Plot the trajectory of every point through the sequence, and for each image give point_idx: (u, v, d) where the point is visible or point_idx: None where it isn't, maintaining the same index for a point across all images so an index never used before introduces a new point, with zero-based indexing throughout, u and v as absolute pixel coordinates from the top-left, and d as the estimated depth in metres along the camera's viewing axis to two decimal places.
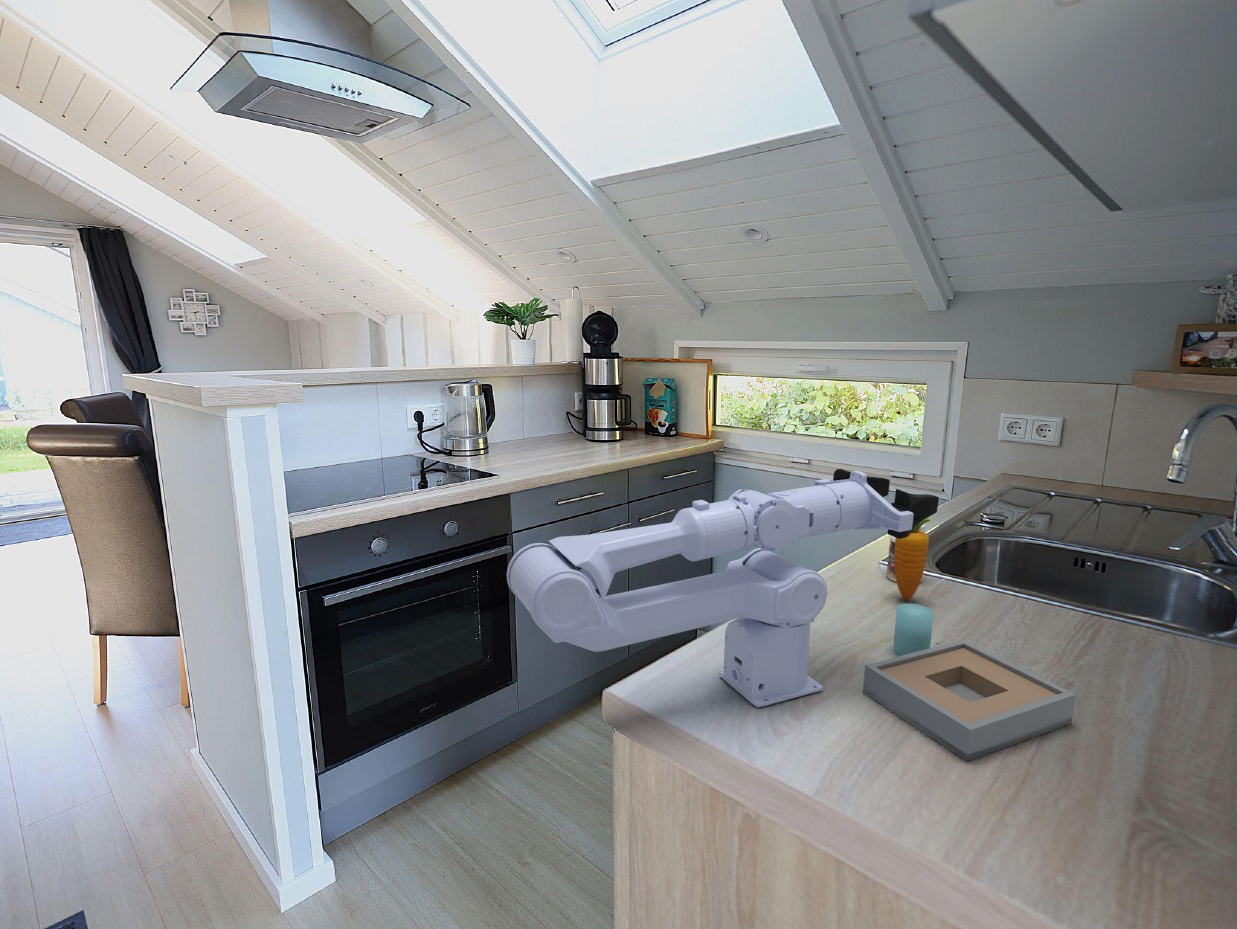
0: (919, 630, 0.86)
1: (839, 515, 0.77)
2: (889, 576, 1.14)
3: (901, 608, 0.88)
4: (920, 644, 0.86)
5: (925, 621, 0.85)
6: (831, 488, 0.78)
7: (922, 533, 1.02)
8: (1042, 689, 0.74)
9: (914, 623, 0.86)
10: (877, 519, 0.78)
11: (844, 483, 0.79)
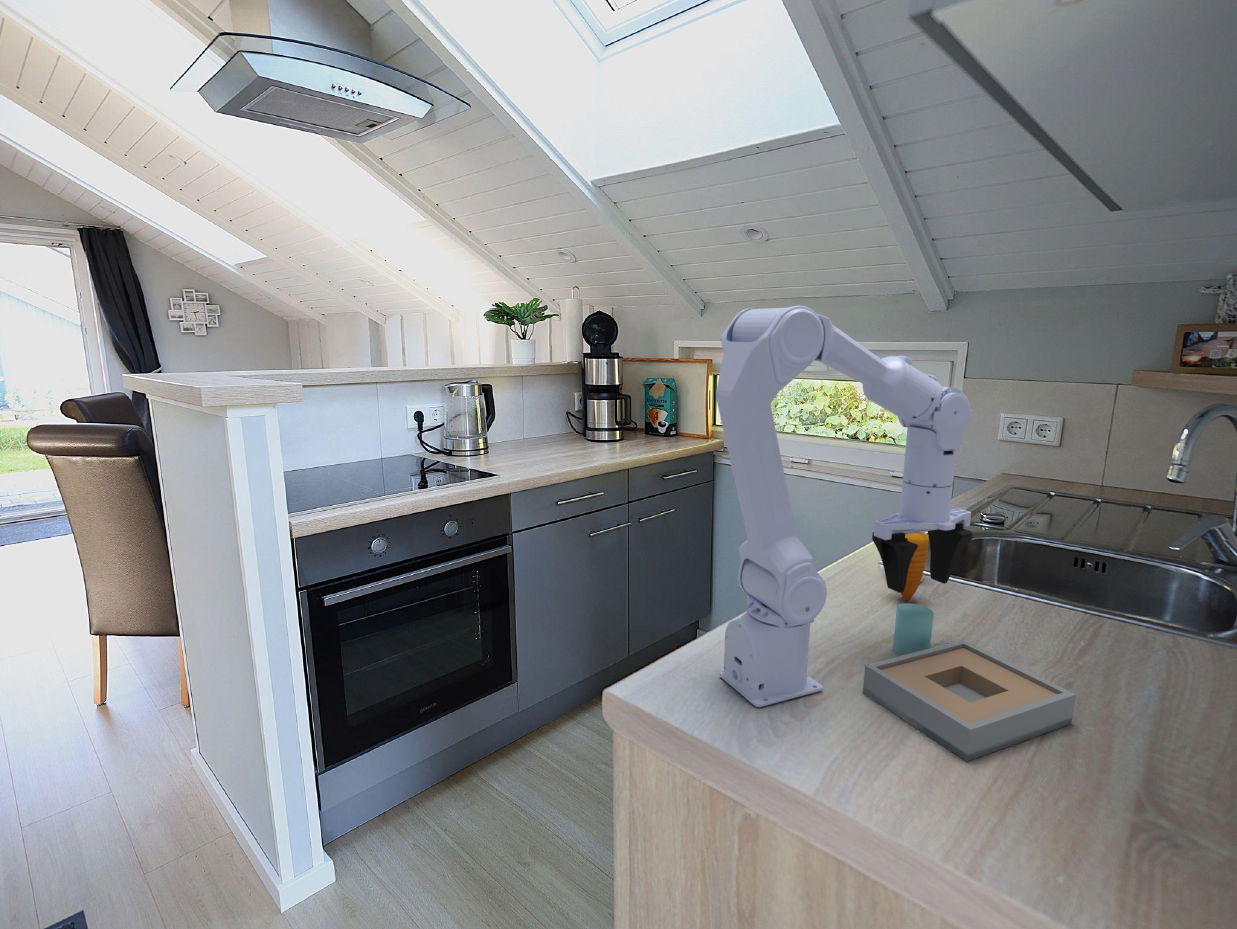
0: (919, 630, 0.86)
1: (946, 485, 0.81)
2: None
3: (901, 608, 0.88)
4: (920, 644, 0.86)
5: (924, 621, 0.85)
6: (941, 488, 0.81)
7: (922, 533, 1.02)
8: (1042, 689, 0.74)
9: (914, 623, 0.86)
10: None
11: (944, 508, 0.82)
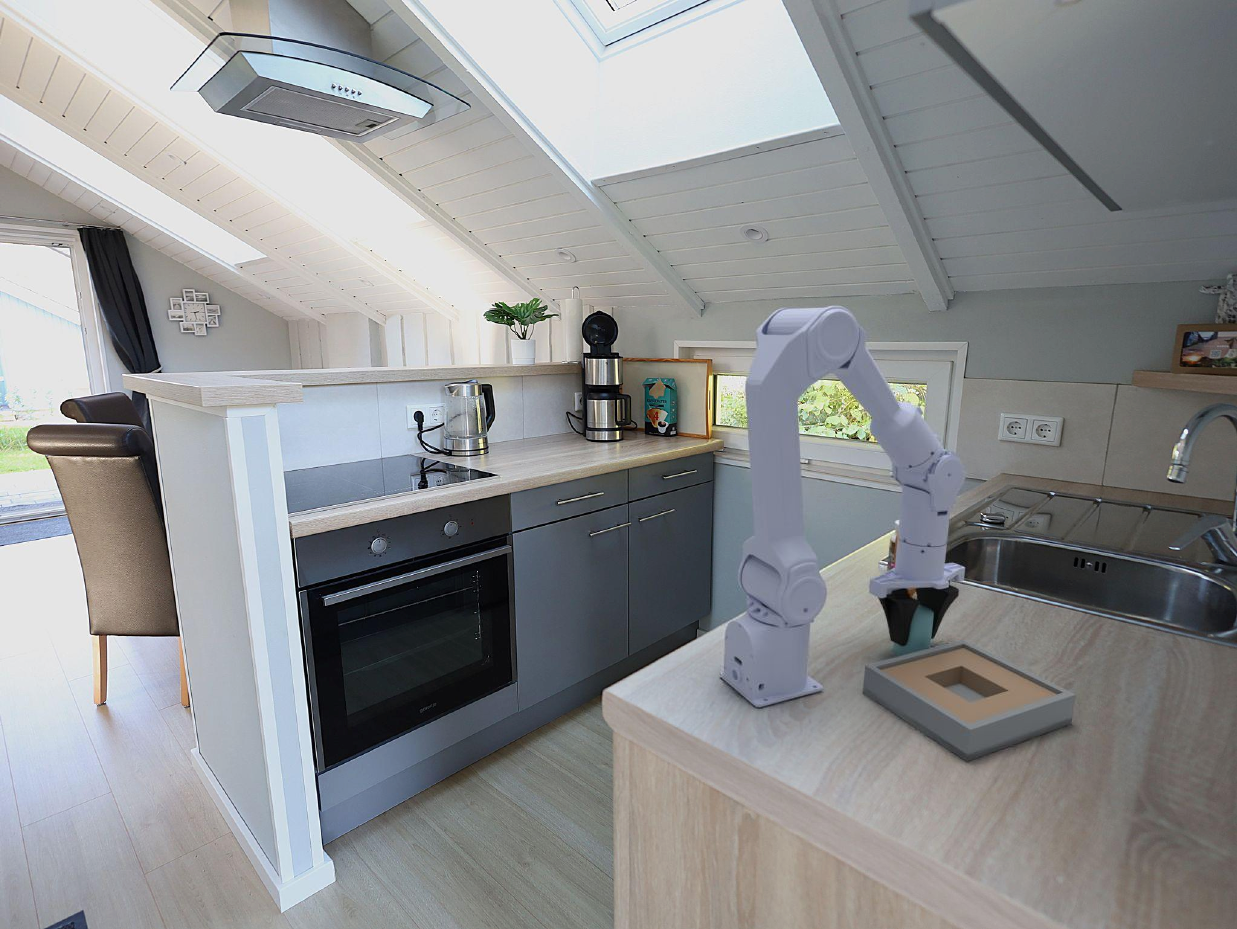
0: (919, 630, 0.86)
1: (939, 544, 0.83)
2: None
3: None
4: (920, 644, 0.86)
5: (925, 621, 0.85)
6: (935, 547, 0.83)
7: None
8: (1042, 689, 0.74)
9: (914, 622, 0.86)
10: None
11: (938, 567, 0.83)
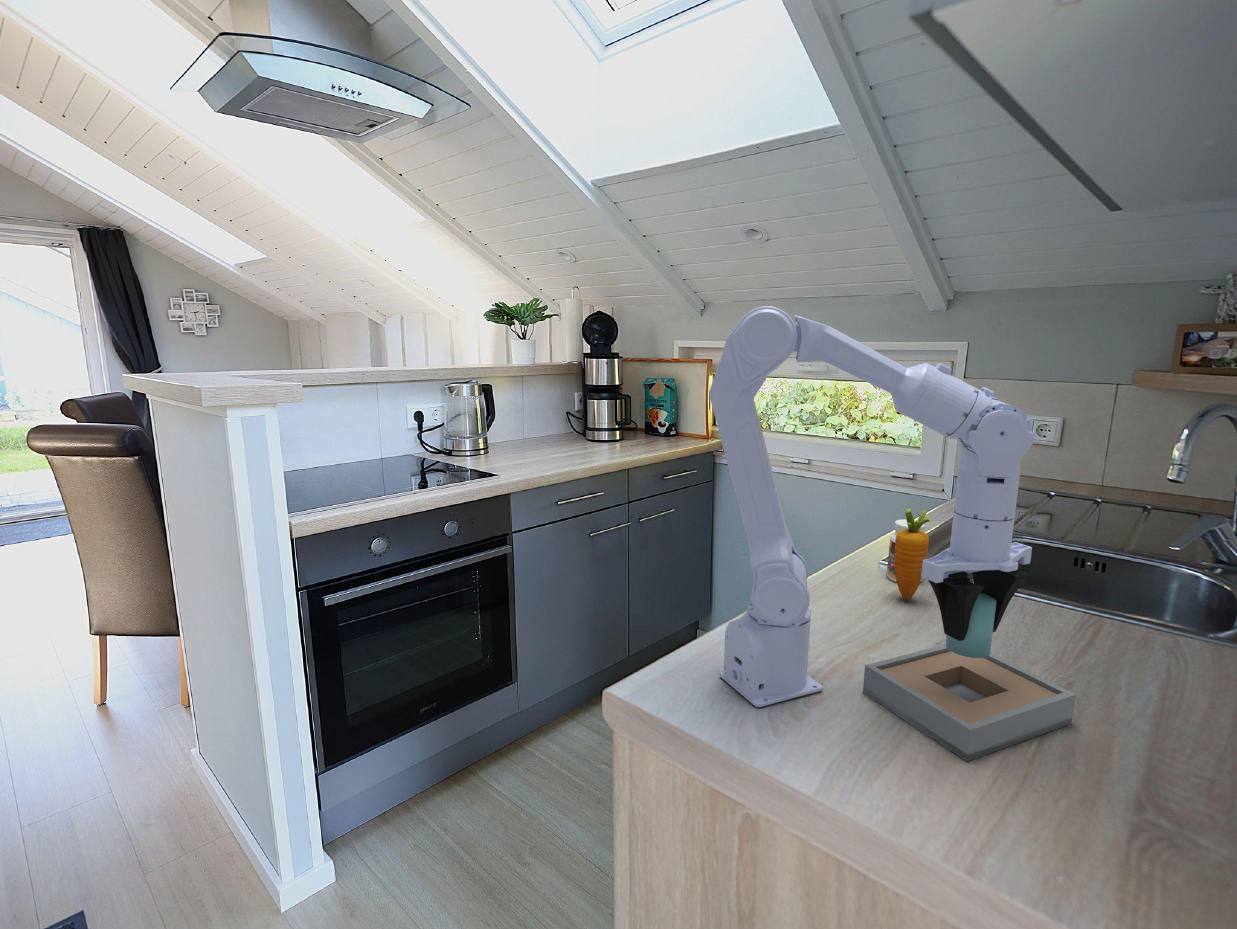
0: (979, 621, 0.72)
1: (991, 518, 0.69)
2: (889, 576, 1.14)
3: None
4: (979, 637, 0.72)
5: (986, 610, 0.72)
6: (1002, 522, 0.69)
7: (922, 533, 1.02)
8: (1042, 689, 0.74)
9: (973, 612, 0.72)
10: None
11: (1005, 545, 0.70)
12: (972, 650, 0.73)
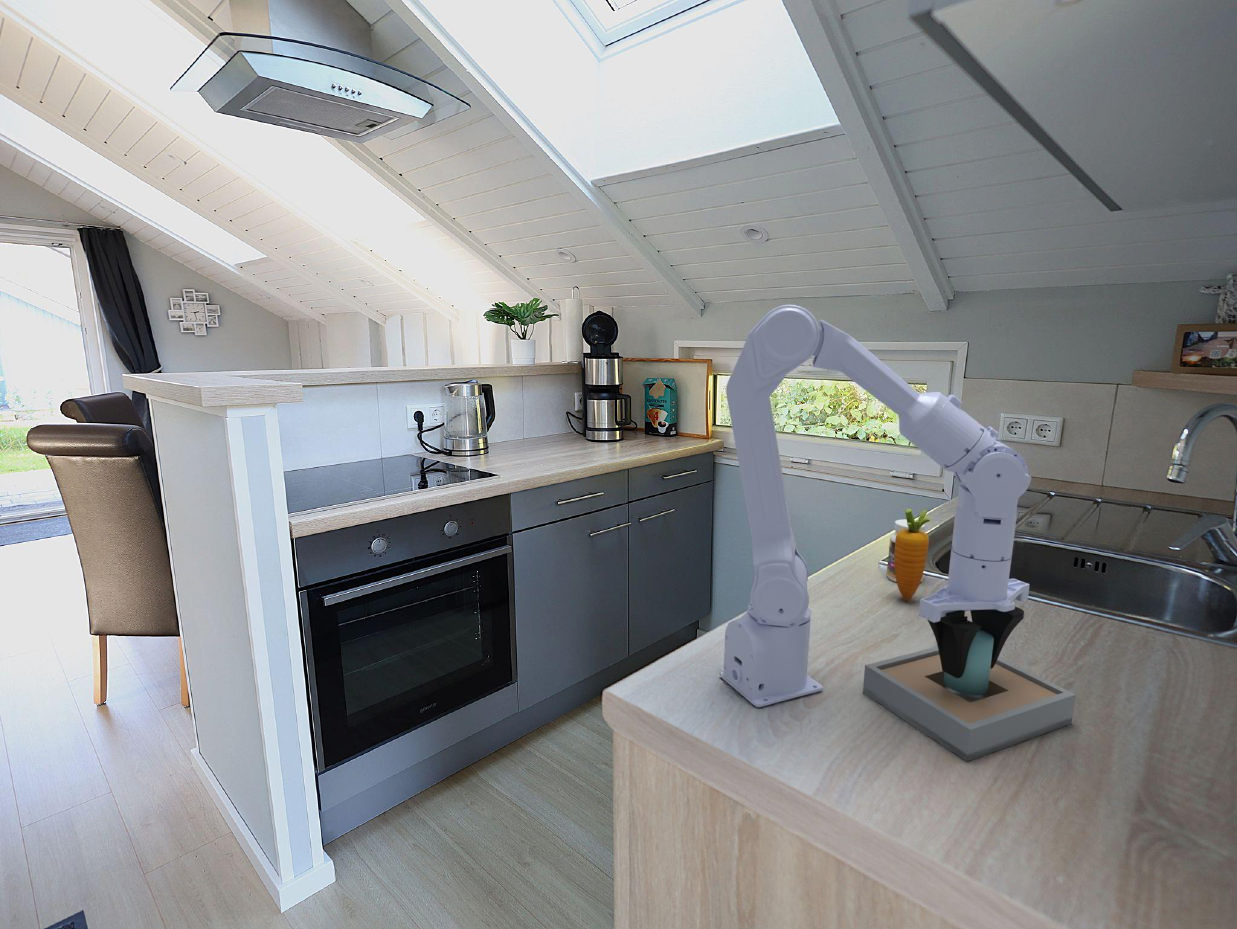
0: (976, 659, 0.72)
1: (988, 558, 0.69)
2: (889, 576, 1.14)
3: None
4: (977, 675, 0.73)
5: (983, 649, 0.72)
6: (999, 562, 0.69)
7: (922, 533, 1.02)
8: (1042, 689, 0.74)
9: (971, 650, 0.72)
10: None
11: (1002, 585, 0.70)
12: (970, 687, 0.73)
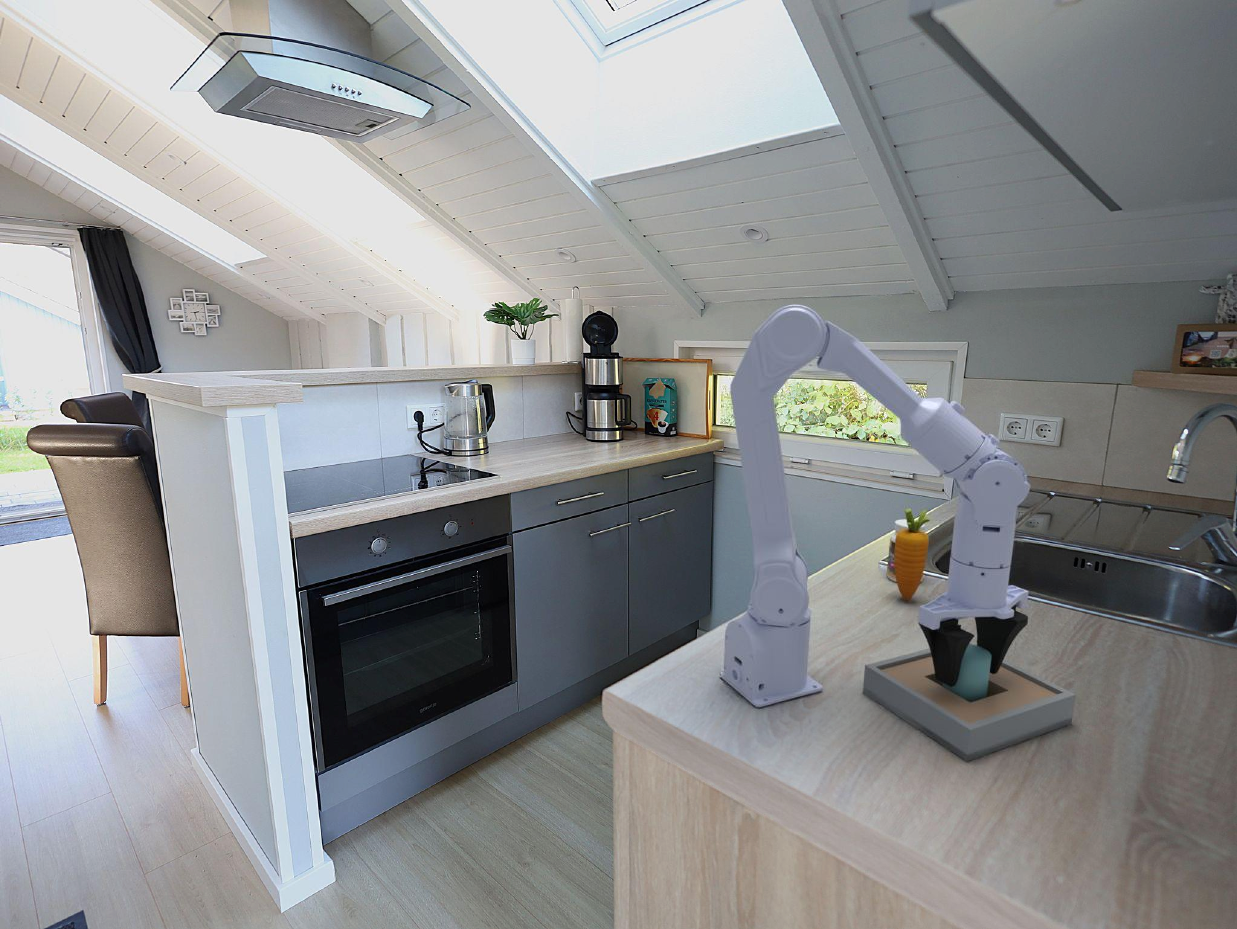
0: (974, 676, 0.73)
1: (987, 566, 0.70)
2: (889, 576, 1.14)
3: None
4: (974, 692, 0.73)
5: (981, 666, 0.72)
6: (998, 570, 0.70)
7: (922, 533, 1.02)
8: (1042, 689, 0.74)
9: (969, 667, 0.73)
10: None
11: (1001, 592, 0.70)
12: None
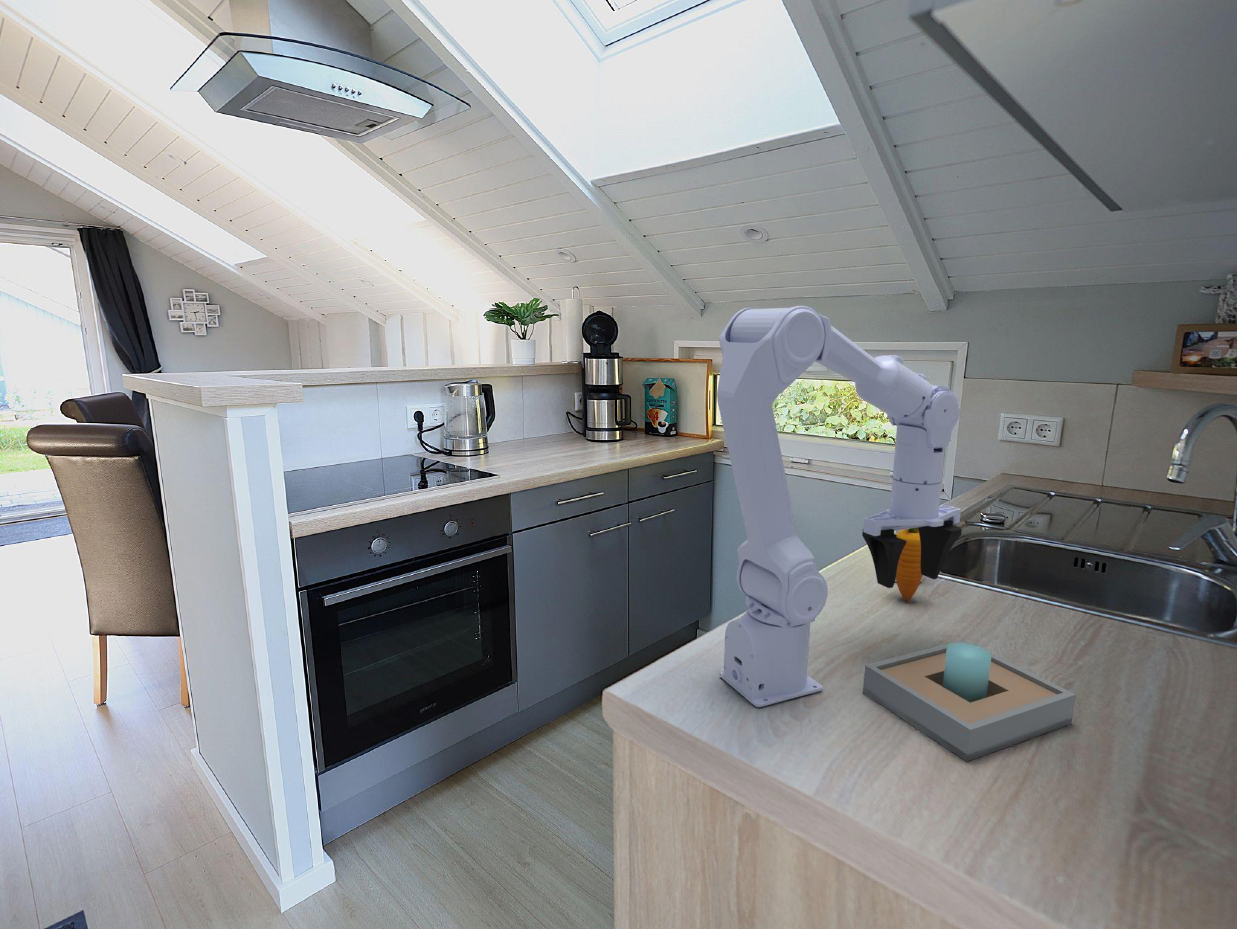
0: (974, 676, 0.73)
1: (935, 482, 0.83)
2: None
3: (952, 648, 0.75)
4: (974, 692, 0.73)
5: (981, 666, 0.72)
6: (930, 485, 0.82)
7: None
8: (1042, 689, 0.74)
9: (969, 667, 0.73)
10: None
11: (933, 505, 0.83)
12: None
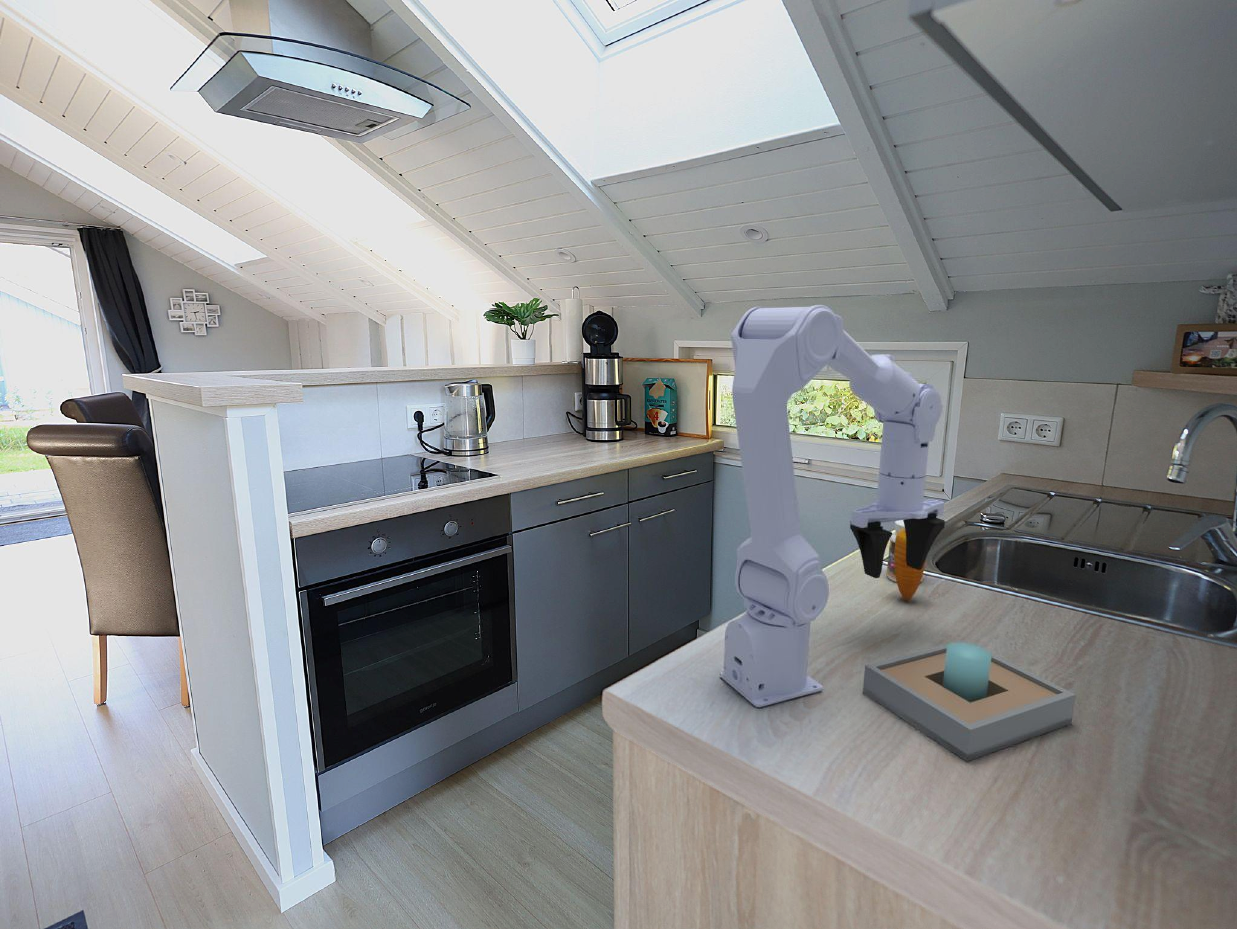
0: (974, 676, 0.73)
1: (922, 475, 0.86)
2: (889, 576, 1.14)
3: (952, 648, 0.75)
4: (974, 692, 0.73)
5: (981, 666, 0.72)
6: (914, 479, 0.86)
7: None
8: (1042, 689, 0.74)
9: (969, 667, 0.73)
10: None
11: (917, 498, 0.87)
12: None
